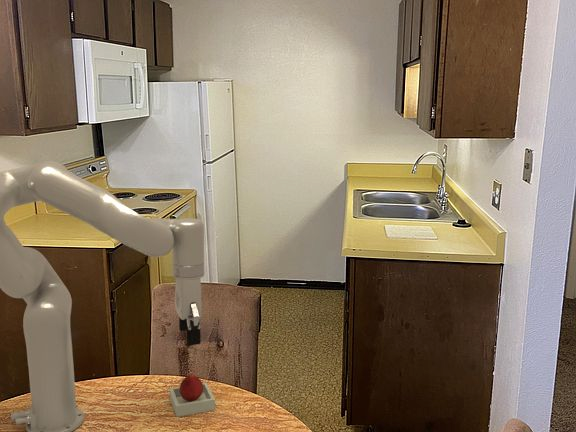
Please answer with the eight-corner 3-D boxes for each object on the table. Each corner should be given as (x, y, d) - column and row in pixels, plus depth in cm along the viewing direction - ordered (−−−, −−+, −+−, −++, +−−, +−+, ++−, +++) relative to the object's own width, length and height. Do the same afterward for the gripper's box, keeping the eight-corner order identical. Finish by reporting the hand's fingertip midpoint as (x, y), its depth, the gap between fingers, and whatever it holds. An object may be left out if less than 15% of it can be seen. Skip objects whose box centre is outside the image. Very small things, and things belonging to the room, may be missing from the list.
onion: (191, 410, 138) (190, 380, 137) (175, 403, 142) (174, 373, 140) (208, 401, 143) (207, 371, 141) (192, 394, 146) (191, 365, 145)
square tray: (176, 417, 137) (176, 406, 136) (169, 398, 145) (169, 388, 145) (215, 409, 140) (215, 399, 139) (206, 392, 149) (206, 382, 148)
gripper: (167, 262, 143) (168, 326, 146) (179, 281, 127) (180, 352, 130) (196, 260, 146) (197, 323, 149) (212, 278, 130) (212, 348, 133)
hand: (189, 336), depth 139 cm, fingers open, 9 cm apart
